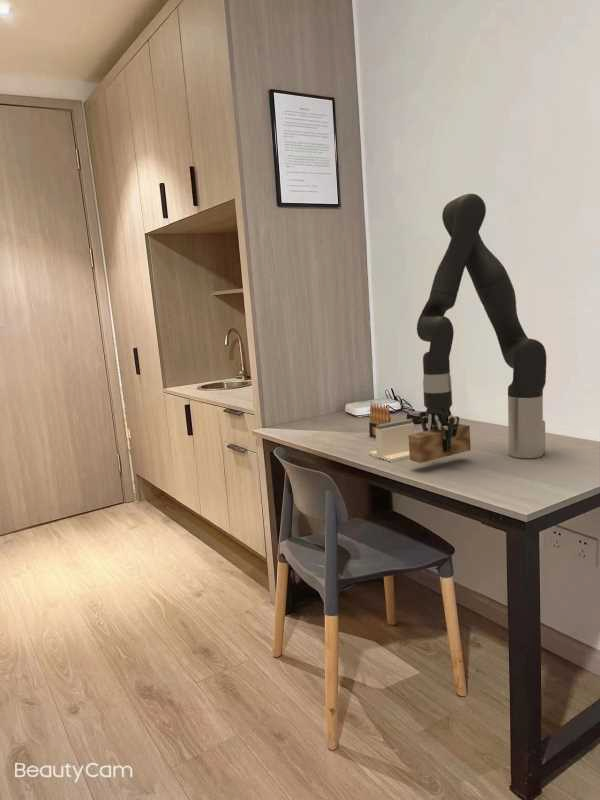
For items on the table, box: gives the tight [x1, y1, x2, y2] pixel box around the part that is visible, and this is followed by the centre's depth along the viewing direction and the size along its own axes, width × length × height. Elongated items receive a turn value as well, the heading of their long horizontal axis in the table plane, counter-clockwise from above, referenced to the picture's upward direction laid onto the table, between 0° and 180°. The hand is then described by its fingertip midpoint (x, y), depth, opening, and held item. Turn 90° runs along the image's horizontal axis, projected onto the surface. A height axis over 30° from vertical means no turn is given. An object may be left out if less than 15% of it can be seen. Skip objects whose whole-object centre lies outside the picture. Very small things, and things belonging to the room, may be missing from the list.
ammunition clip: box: [368, 402, 392, 439], centre depth 206 cm, size 11×2×12 cm, turn 30°
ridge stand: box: [368, 418, 415, 463], centre depth 184 cm, size 12×11×10 cm
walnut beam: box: [408, 423, 471, 464], centre depth 170 cm, size 18×4×7 cm, turn 119°
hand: (440, 450), depth 170 cm, fingers closed on walnut beam, 4 cm apart
